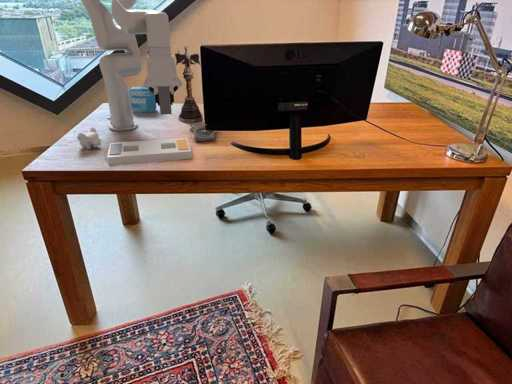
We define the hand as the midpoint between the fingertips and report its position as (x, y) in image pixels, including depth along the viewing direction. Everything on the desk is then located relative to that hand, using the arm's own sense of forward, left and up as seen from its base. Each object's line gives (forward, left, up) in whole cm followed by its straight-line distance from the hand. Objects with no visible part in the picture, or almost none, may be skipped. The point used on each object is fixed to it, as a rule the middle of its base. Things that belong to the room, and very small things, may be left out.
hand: (165, 104), depth 132 cm
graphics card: (-1, +23, -20) cm, 31 cm away
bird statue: (-21, +39, -20) cm, 49 cm away
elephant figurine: (-29, -13, -20) cm, 38 cm away
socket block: (-5, -5, -20) cm, 21 cm away
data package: (-46, +34, -20) cm, 61 cm away
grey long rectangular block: (0, 0, -3) cm, 3 cm away
